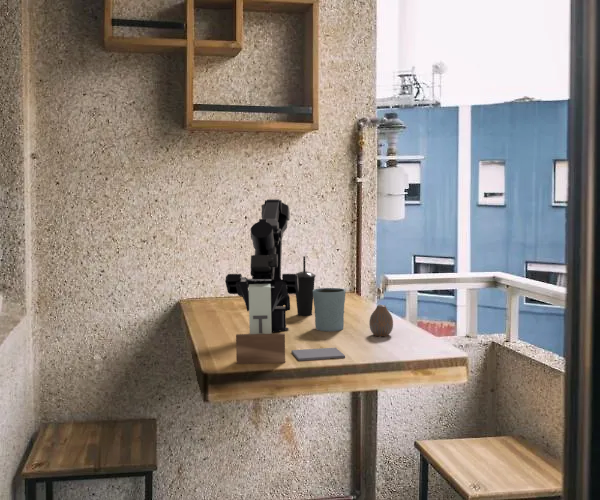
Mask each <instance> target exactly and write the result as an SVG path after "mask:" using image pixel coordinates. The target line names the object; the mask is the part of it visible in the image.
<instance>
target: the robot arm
mask: <svg viewBox="0 0 600 500" xmlns="http://www.w3.org/2000/svg"><path fill="white" fill-rule="evenodd" d="M260 215H261V218H259V219H258V221H257V222H255V223H254V224H253V225H252V226H251V227H250V240H252V246H253V249H254V254H252V255H251V256H250V271H249V272H250V277H251V278H247V277H246V276H242V273H227V275H226V276H225V279H224V282H225V286H226V290H227V293H228V294H229V295H237V296H239V297H242V299H243V301H244V304H245V308H246V311H247V312H249V284H270V285H271V329H272V333H278V332H284V331H289V329H290V328H289V327H286V325H287V324H286V314H287V312H288V311H291V299H290V295H296V294H297V293H298V290H299V284H298V276H297V275H296V273H282V254H283V253H282V251H283V250H282V249H283V237H284V234H285V232H286V230H287V228H288V221H289V222H290V218H291V216H290V215H291V214H290V207H289V205H288V204H286V203H285V202H283V201H282V199H276V198H272V199H268V198H267V199H265V200H264V203H263V204H262V205H261V214H260Z"/></svg>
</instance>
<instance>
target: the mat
mask: <svg viewBox="0 0 600 500" xmlns="http://www.w3.org/2000/svg"><path fill="white" fill-rule="evenodd" d="M291 354H292V355H293V356H294V357H295V358H296V360H298V362H300V361H301V362H305V361H317V360H318V361H319V360H330V358H336V359H345V358H346V355H345V353H343V352H342V351H340V349H339V348H337V347H325V348H323V347H322V348H305V349H304V348H303V349H291Z"/></svg>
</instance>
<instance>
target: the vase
mask: <svg viewBox="0 0 600 500" xmlns="http://www.w3.org/2000/svg"><path fill="white" fill-rule="evenodd" d="M368 324H369V330H370V332H371V333H372V334H373V335H374V336H375V337H380V336H384V337H387V336H390V334H391V333H392V331H393V329H394V320H393V316H392V314H391V313H390V311H389V310H388V308H387V306H386V305H385V304H378V305H377V306H376V307H375V309H374V310H373V311H372V313H371V315H370V317H369V323H368Z"/></svg>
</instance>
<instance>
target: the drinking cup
mask: <svg viewBox="0 0 600 500" xmlns="http://www.w3.org/2000/svg"><path fill="white" fill-rule="evenodd" d="M302 261H303V265H302V266H303V267H302V270H301V271H299V272H297V273H295V274H296V275H297V276H298V284H299V290H298V293H297V294H295V302H296V309H297V315H298V316H302V317H307V316H308V317H309V316H312V315H313V306H314V300H313V290H314V289H315V282H316V281H315V279H316V274H315V273H312V272H311V271H306V255H305V256H304V255H303V257H302Z"/></svg>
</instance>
